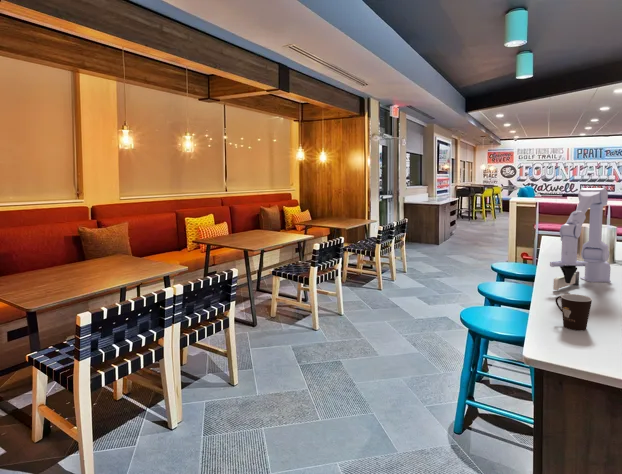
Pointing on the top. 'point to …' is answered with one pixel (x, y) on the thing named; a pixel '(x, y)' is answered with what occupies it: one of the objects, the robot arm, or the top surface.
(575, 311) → the coffee mug
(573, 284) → the gate post
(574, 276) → the gate
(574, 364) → the top surface
